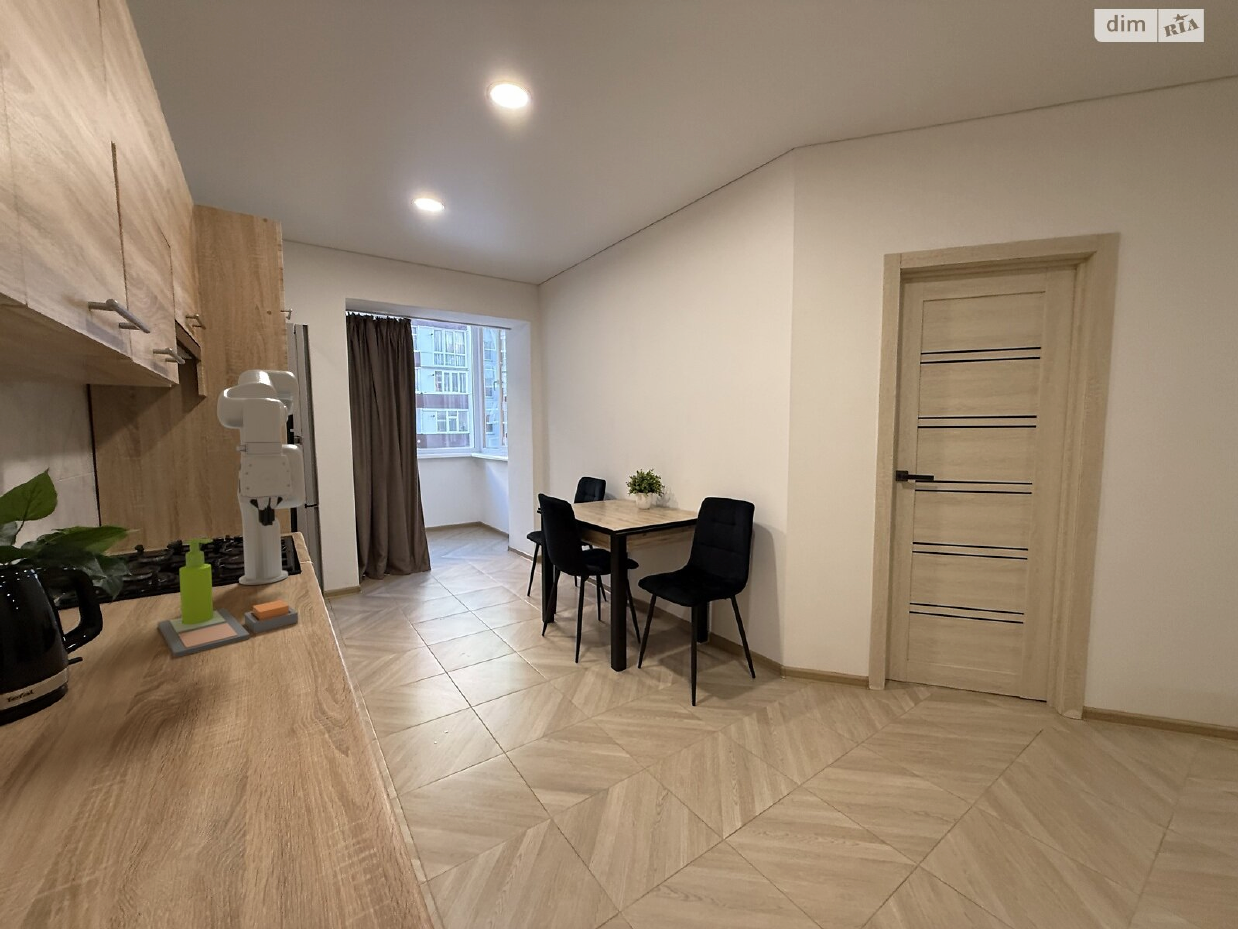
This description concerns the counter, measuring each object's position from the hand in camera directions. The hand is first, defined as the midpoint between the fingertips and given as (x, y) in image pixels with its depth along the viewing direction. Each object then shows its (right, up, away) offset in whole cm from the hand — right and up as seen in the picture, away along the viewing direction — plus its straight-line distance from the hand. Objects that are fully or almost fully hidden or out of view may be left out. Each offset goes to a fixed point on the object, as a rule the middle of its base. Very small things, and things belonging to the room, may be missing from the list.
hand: (267, 524), depth 123 cm
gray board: (-12, -25, -4) cm, 28 cm away
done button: (0, -22, +2) cm, 22 cm away
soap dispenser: (-17, -23, 0) cm, 29 cm away
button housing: (0, -25, +2) cm, 25 cm away
